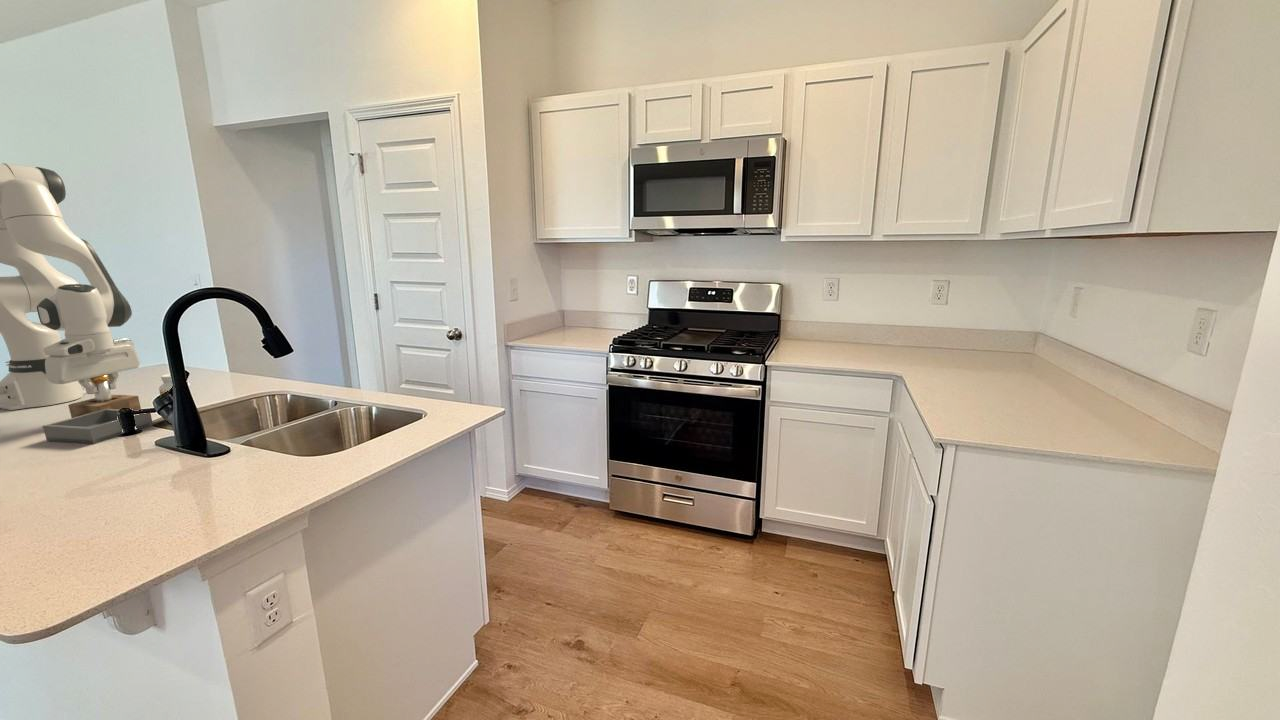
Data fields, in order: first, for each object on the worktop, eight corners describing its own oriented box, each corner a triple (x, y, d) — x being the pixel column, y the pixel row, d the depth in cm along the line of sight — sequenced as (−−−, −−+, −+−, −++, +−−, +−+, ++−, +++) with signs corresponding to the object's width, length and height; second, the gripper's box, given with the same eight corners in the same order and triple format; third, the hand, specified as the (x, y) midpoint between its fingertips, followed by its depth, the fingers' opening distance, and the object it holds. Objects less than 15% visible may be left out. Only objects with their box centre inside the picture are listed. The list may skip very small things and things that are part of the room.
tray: (46, 441, 130) (42, 425, 129) (109, 422, 144) (106, 408, 143) (93, 444, 128) (89, 428, 127) (153, 424, 142) (150, 411, 141)
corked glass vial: (94, 418, 147) (84, 377, 144) (110, 414, 150) (100, 373, 148) (106, 419, 146) (96, 377, 143) (121, 414, 150) (112, 374, 147)
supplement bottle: (170, 416, 149) (161, 373, 146) (199, 413, 151) (191, 370, 149) (161, 423, 143) (152, 378, 140) (191, 420, 145) (183, 376, 143)
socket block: (72, 421, 144) (68, 404, 143) (112, 410, 154) (109, 394, 153) (102, 423, 143) (98, 406, 142) (141, 412, 152) (138, 395, 151)
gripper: (122, 336, 154) (132, 381, 157) (35, 350, 134) (48, 401, 137) (140, 337, 153) (150, 382, 156) (55, 351, 133) (68, 402, 136)
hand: (101, 391), depth 147 cm, fingers closed on corked glass vial, 3 cm apart
